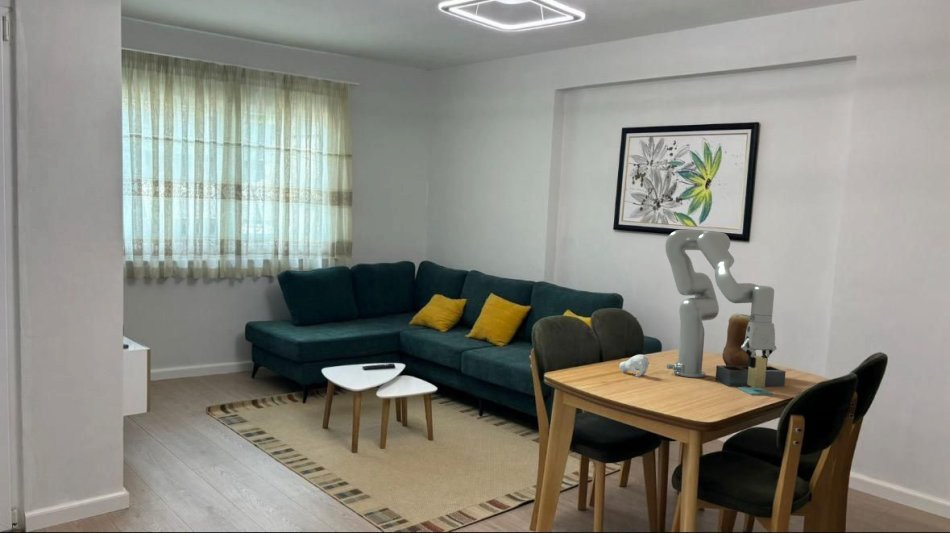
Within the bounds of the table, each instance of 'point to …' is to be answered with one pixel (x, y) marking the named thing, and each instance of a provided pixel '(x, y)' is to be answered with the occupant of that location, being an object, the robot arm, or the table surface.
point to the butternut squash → (736, 341)
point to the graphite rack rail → (739, 376)
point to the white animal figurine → (635, 365)
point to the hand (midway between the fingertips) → (757, 366)
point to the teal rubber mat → (755, 391)
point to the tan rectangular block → (757, 372)
